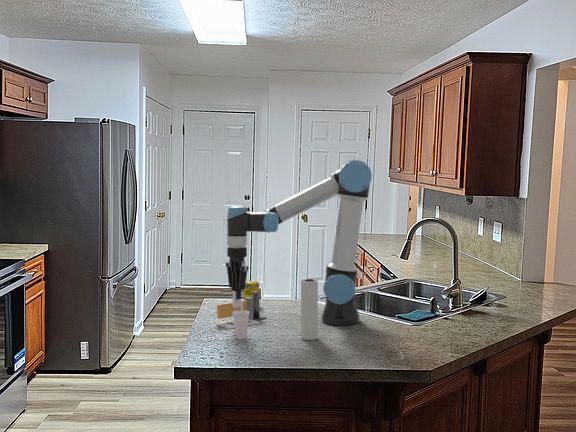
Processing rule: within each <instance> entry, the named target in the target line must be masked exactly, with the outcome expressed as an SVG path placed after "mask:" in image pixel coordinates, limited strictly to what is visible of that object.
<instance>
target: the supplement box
mask: <svg viewBox="0 0 576 432" xmlns="http://www.w3.org/2000/svg"><path fill="white" fill-rule="evenodd" d="M253 291H259V292H260V281H250V280H249V281H247V280H246V283H245V289H244V290H243V300H245V297H251V298H252V309H253Z"/></svg>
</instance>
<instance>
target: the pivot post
mask: <svg viewBox="0 0 576 432" xmlns="http://www.w3.org/2000/svg"><path fill="white" fill-rule="evenodd" d="M260 303H261V302H260V290H259V291H253V308H252V317H251V318H249V319H252V320H255V321H261V320H266V319H267V316H264V315H261V314H260V313H261V312H260V307H261V306H260Z"/></svg>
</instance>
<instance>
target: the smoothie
mask: <svg viewBox="0 0 576 432" xmlns="http://www.w3.org/2000/svg"><path fill="white" fill-rule="evenodd" d="M242 301H243V299H241V310H237V311H233V312H232V315H233V322H234V325H235V328H234V330H235V331H234V332H235V338H236V340H246V339H247V337H248V327H249V326H248V320H249V315H250V312H249V311H246V310H242Z"/></svg>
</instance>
